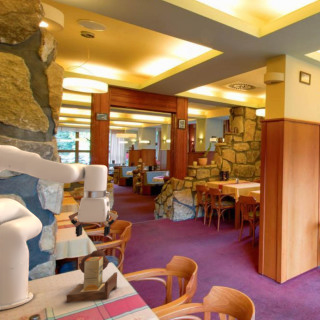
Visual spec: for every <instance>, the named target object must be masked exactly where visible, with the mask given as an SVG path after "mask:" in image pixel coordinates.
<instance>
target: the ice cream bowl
mask: <svg viewBox="0 0 320 320" xmlns="http://www.w3.org/2000/svg"><path fill="white" fill-rule="evenodd" d="M100 256H103V271H104V270H105V269H107V267H108V265H109V262H110V260H109V259H108V258H107V256H106V253H105V251H104V250H102V249H96V250H93V251H92V252H91V253H88V254H86V255H84V256H83V258H81V261H80V263H78V267H79V269H80V271H81V272H82V273H83V274H84V264H85V261H86V260H87V259H88V258H89V257H100Z"/></svg>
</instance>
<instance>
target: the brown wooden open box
mask: <svg viewBox="0 0 320 320" xmlns="http://www.w3.org/2000/svg"><path fill="white" fill-rule="evenodd" d="M116 289H118V272H117V271H116V272H114V273H113V274H112V275H111V276H110V277H108V278H107V279H106V280H105V281H102V285H101V286H100V288H99V289H97V290H87V291H84V283H79V284H77V285H76V286H75V287H74V288H72V290H71V291H69V292H68V293H67V294H66V295H65V296H66V299H65V300H66V301H65V303H75V302H88V301H89V302H90V301H99V300H101V301H102V300H108V299H109V297H110V292H111V291H115V290H116Z"/></svg>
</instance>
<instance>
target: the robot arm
mask: <svg viewBox="0 0 320 320" xmlns="http://www.w3.org/2000/svg"><path fill="white" fill-rule="evenodd" d="M4 171H10V172H15V173H20V174H25V175H28V176H30V177H33V178H36V179H39V180H44V181H50V182H54V183H60V184H71V183H78V182H83V197H81V199H80V201H79V206H78V211H77V212H74V213H73V214H70V215H68V219H69V221H70V223H71V224H72V225H73V226H74V228H75V231H74V233H75V237H76V238H78V237H80V236H82V235H83V225H82V224H83V223H103V225H104V227H103V237H107V236H109V234H110V233H111V225H113V224H114V223H115V222H116V221H117V220H118V217H119V215H118V214H117V213H114V212H112V211H111V206H110V205H111V204H110V198H109V197H108V196H110V195H111V192H110V191H108V190H107V189H108V188H107V187H108V172H109V171H108V167H107V166H106V165H104V164H85V163H74V162H73V163H64V162H58V161H54V160H49V159H47V158H46V159H45V158H43V157H41V155H40V154H39V153H36V152H32V151H27V150H22V149H20V148H18V147H17V146H14V145H7V144H0V173H2V172H4ZM76 217H77V219H76ZM111 217H112V219H111V220H110V218H111ZM42 231H43V223H42V221H41V220H40V218H38V217H37V216H36V215H35V214H34V213H33V212H31V211H30V210H29V209H28V208H26V206H25V205H23V204H22V203H20V202H19V201H17V200H15V199H13V198H8V197H1V198H0V311H3V310H8V309H13V308H17V307H19V306H22V305H24V304H27V303H29V302H30V301H32V299H33V298H34V293H33V292H30V291H29V275H30V274H29V268H30V251H29V246H28V245H27V241H29V240H31V239H33V238H36V237H38V236H39V234H40V233H41V232H42Z"/></svg>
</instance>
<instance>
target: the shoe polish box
mask: <svg viewBox="0 0 320 320" xmlns="http://www.w3.org/2000/svg"><path fill="white" fill-rule="evenodd" d="M103 272H104V270H103V256H100V257H89V258H88V259H87V260H86V261H85V264H84V273H83V284H84V291H87V290H97V289H99V288H100V286H101V285H102V282H103Z"/></svg>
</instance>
